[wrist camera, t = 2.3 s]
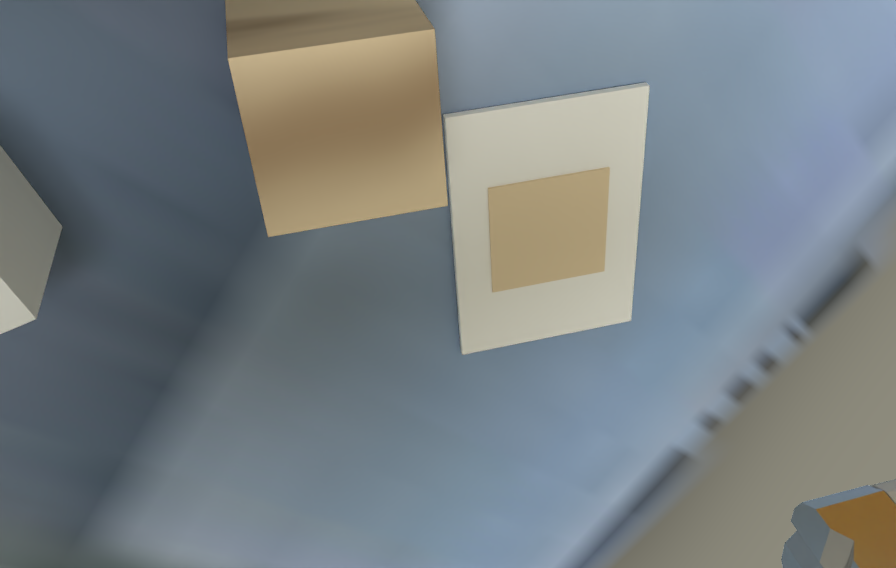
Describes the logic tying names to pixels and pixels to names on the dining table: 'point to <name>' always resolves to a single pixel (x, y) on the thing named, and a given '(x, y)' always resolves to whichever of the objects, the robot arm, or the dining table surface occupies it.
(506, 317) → the card
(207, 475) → the dining table surface
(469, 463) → the dining table surface
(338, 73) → the oak cube
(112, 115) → the dining table surface
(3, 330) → the grey cube
